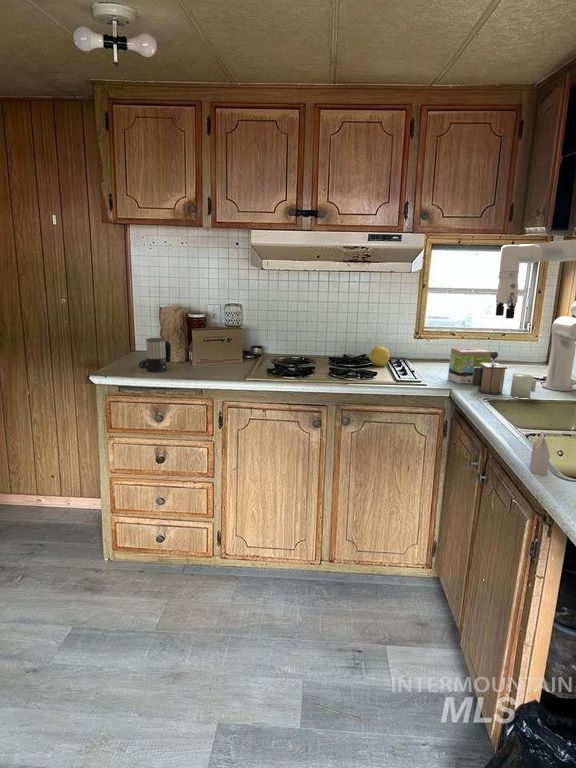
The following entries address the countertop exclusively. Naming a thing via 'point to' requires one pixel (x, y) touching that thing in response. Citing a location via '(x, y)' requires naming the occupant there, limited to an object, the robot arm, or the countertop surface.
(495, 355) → the plunger
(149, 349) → the milk frother
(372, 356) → the fruit
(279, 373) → the countertop surface
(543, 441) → the tea bag
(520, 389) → the sage mug
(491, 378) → the brown wooden mug
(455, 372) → the tea box
